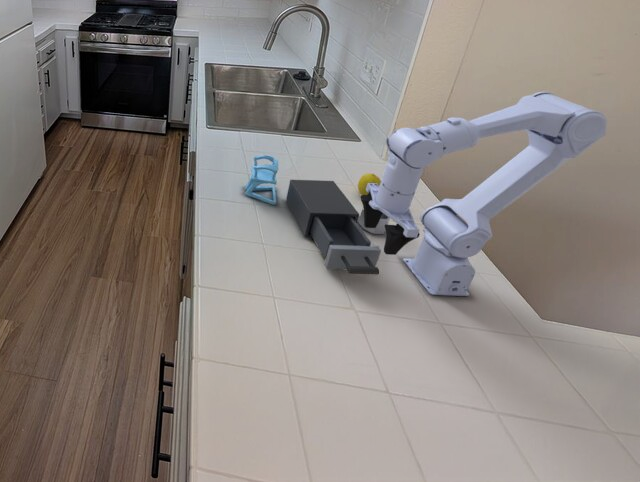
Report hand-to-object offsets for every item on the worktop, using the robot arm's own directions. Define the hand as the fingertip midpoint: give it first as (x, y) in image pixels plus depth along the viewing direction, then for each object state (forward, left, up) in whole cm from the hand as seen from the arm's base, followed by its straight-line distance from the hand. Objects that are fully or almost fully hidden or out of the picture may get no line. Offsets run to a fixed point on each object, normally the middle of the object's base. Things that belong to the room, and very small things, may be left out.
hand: (379, 239), depth 81 cm
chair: (+27, +16, -10) cm, 33 cm away
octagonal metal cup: (+15, -9, -9) cm, 20 cm away
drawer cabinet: (+17, +4, -9) cm, 20 cm away
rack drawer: (+4, +4, -9) cm, 10 cm away
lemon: (+27, -14, -10) cm, 32 cm away
